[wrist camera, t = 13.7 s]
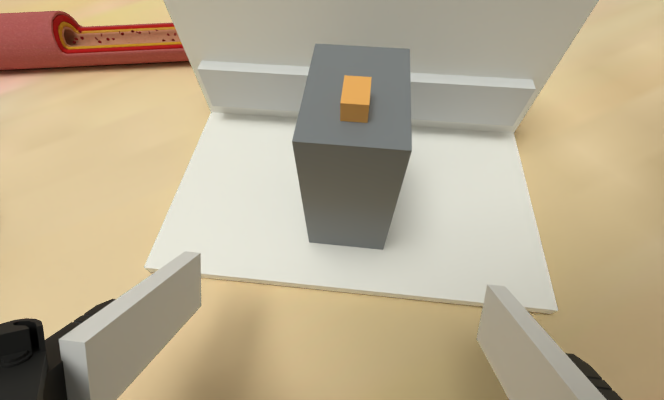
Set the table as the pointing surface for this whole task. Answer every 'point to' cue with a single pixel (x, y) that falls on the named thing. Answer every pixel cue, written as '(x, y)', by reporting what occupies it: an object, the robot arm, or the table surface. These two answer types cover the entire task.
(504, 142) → the rail panel
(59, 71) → the table surface
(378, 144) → the block
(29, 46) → the blood vessel
